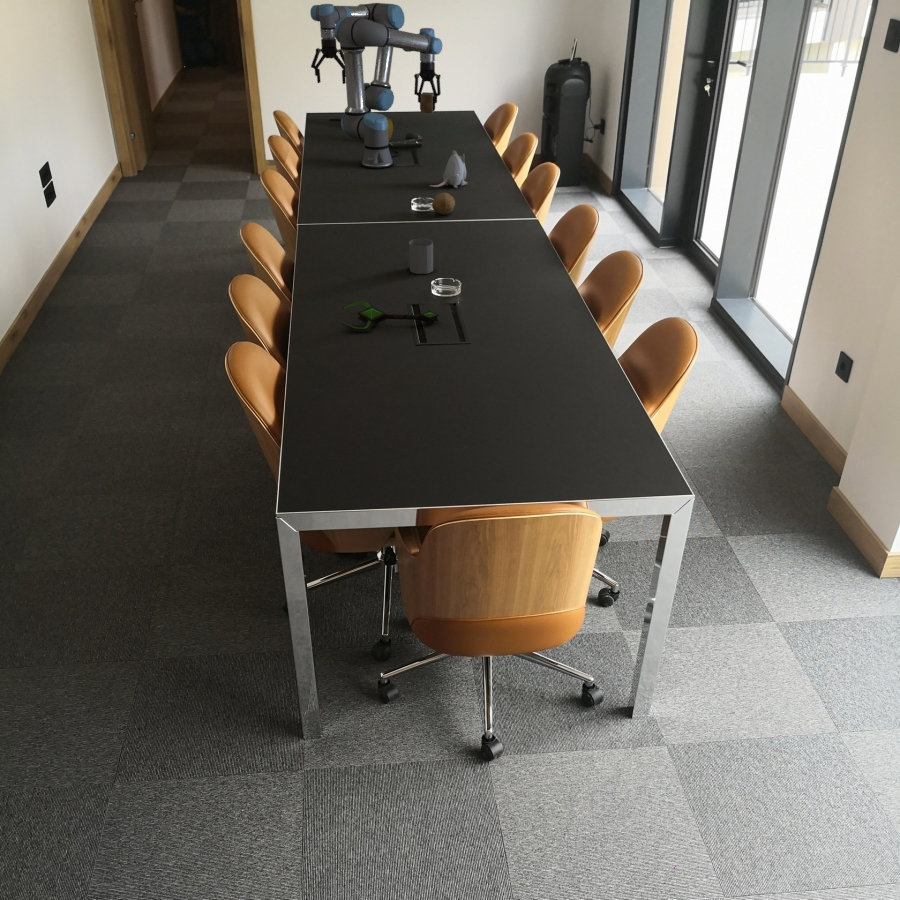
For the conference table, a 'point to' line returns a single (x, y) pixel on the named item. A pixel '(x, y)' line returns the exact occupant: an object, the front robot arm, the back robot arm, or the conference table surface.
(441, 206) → the potato
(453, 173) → the toy
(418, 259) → the cup
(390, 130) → the apple
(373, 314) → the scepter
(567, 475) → the conference table surface
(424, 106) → the brick
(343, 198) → the conference table surface
